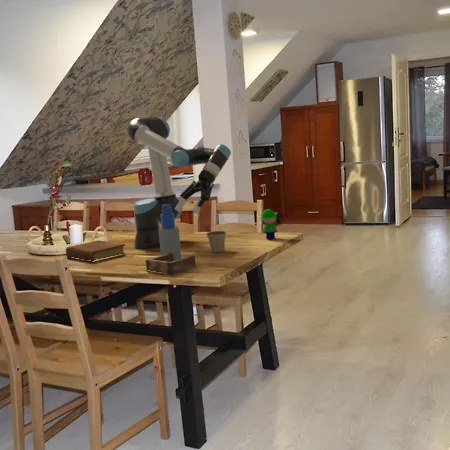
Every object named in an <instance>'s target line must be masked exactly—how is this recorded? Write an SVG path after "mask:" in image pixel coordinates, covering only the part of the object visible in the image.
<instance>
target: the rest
mask: <svg viewBox="0 0 450 450" xmlns="http://www.w3.org/2000/svg"><path fill="white" fill-rule="evenodd" d="M196 264H197V263H196V256H195V255H189V256H186V257H183V258H182V257H181V259H179V260H176V261H174V258H173V253H169V254H165V255H162V256H161V255H159V256H155V257H152V258H148V259H145V267H146V271H147V270H150V271H156V272H162V273H166V274H165V275H168V274H170V275H169V276H172V274H173V275H175V273H176V274H178V273H182V272H185V271H189V270H191V269H194V268H196V267H197V265H196ZM156 272H155V273H156ZM162 273H161V274H162Z"/></svg>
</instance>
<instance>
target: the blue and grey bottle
mask: <svg viewBox="0 0 450 450" xmlns="http://www.w3.org/2000/svg"><path fill="white" fill-rule="evenodd" d="M175 220H176V219H174V213H172V210H171V205H170V204H163V205H162V214H161V223H160V225H161V226H160V227H159V240H160V246H159V250H160V256H162V255H165V254H169V253H173V258H174V261H176V260H179V259H182V251H181V249H182V248H181V240H180V228H179V227H178V226H177V225H176V222H175Z"/></svg>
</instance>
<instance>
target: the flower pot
mask: <svg viewBox="0 0 450 450" xmlns="http://www.w3.org/2000/svg"><path fill="white" fill-rule="evenodd" d="M206 236H207V238H208V242H209V247H210V252H212V253H217V252H219V253H222V252H224V251H225V244H226V236H227V231H224V230H217V231H215V230H213V231H210V232H207V233H206Z"/></svg>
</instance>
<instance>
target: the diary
mask: <svg viewBox="0 0 450 450" xmlns="http://www.w3.org/2000/svg"><path fill="white" fill-rule="evenodd" d="M124 247H126V244H125V243H118V242H111V241H104V240H99V239H98V240H94V241H90V242H89V241H88V242H85V243H80V244H76V245H72V246H67V247H66V248H65V256H67V257H74V258H79V259H84V260H91V261H94V260H96V259H101V258H106V257H110V256H115V255H119V254H124V253H125V251H124ZM67 257H66V258H67Z"/></svg>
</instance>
